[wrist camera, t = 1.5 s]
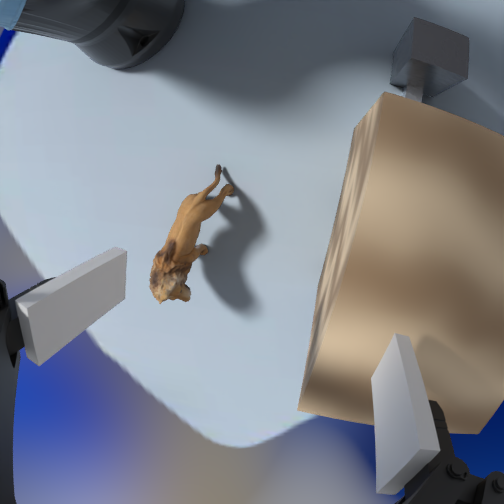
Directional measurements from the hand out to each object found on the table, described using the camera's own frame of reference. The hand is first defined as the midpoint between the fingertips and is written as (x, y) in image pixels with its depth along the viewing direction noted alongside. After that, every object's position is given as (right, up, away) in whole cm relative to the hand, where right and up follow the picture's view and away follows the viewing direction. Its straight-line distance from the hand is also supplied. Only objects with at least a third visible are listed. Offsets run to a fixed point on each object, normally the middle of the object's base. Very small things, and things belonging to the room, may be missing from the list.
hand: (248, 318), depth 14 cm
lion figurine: (-5, +6, +24) cm, 25 cm away
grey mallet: (+16, +14, +16) cm, 26 cm away
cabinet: (+16, +6, +18) cm, 25 cm away
